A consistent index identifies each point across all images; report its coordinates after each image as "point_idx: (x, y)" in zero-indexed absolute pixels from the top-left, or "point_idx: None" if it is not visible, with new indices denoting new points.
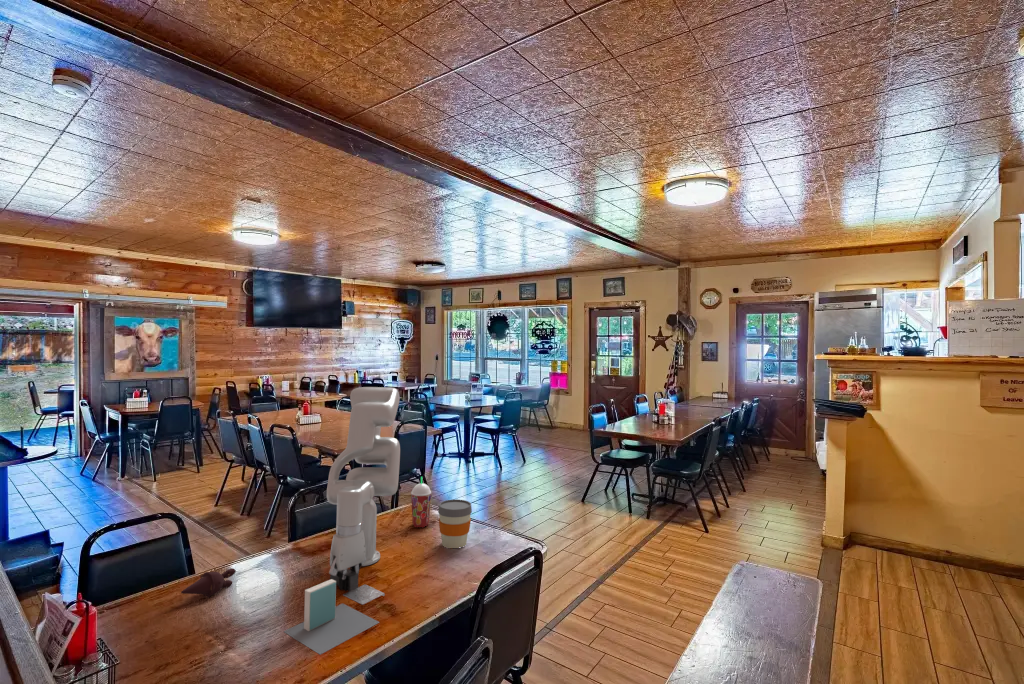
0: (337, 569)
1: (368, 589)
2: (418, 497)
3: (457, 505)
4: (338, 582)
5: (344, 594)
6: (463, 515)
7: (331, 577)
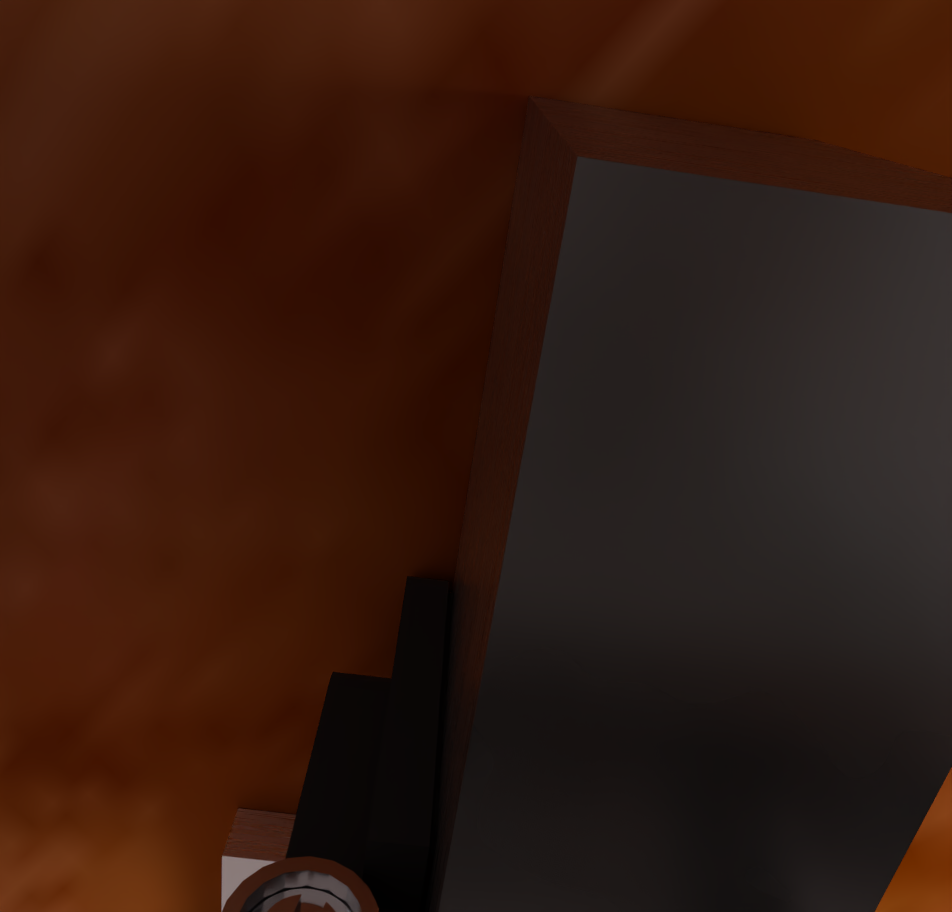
0: (589, 690)
1: None
2: None
3: None
4: (466, 559)
5: (241, 876)
6: None
7: (521, 210)
